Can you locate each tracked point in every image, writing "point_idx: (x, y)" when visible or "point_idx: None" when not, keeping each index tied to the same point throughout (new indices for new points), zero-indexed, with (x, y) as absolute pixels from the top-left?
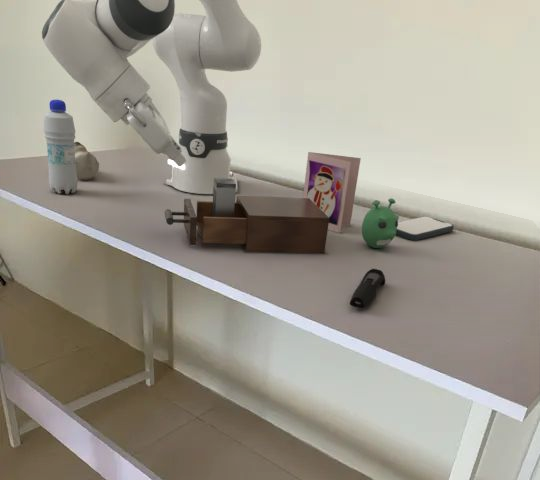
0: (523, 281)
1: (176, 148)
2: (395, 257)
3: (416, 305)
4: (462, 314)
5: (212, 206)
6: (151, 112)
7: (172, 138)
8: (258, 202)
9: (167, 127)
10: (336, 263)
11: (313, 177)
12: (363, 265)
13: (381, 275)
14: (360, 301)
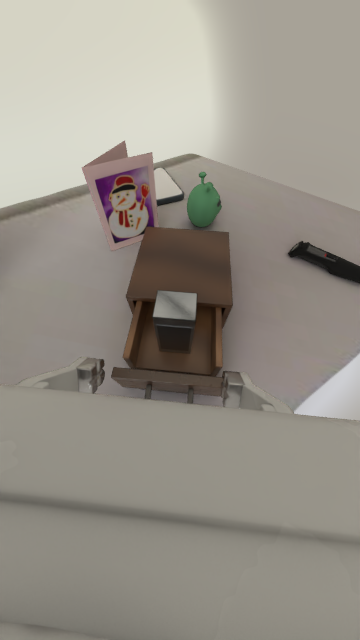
0: (265, 181)
1: (263, 395)
2: (225, 221)
3: (331, 244)
4: (338, 227)
5: (159, 340)
6: (73, 535)
7: (59, 375)
8: (166, 279)
9: (87, 395)
10: (246, 262)
11: (107, 199)
12: (248, 246)
13: (309, 244)
14: None
